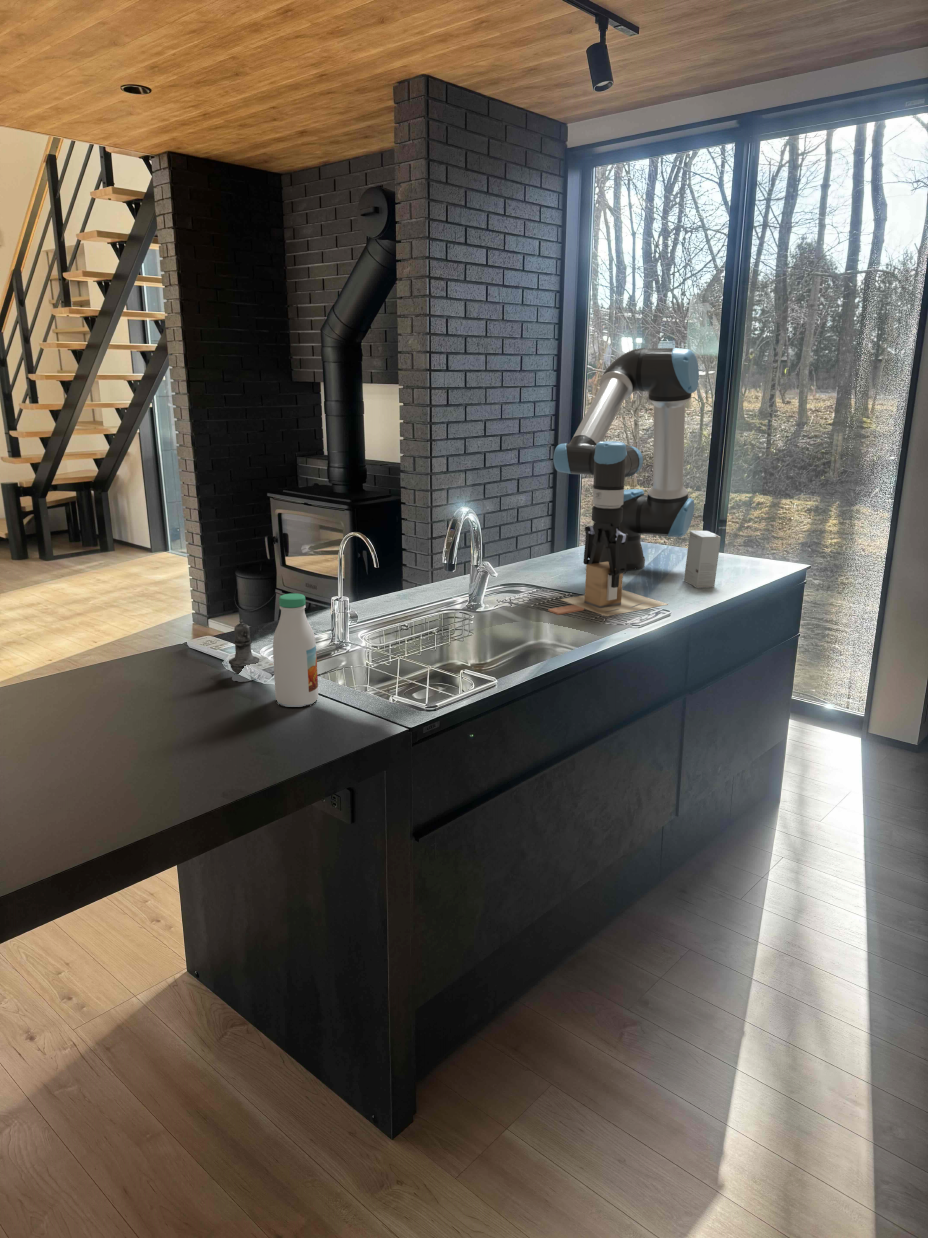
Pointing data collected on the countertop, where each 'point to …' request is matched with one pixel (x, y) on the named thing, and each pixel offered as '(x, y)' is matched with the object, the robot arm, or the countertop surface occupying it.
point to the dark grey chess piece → (242, 648)
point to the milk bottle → (294, 654)
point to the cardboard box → (600, 586)
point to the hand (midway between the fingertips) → (602, 596)
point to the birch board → (627, 605)
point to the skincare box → (702, 559)
